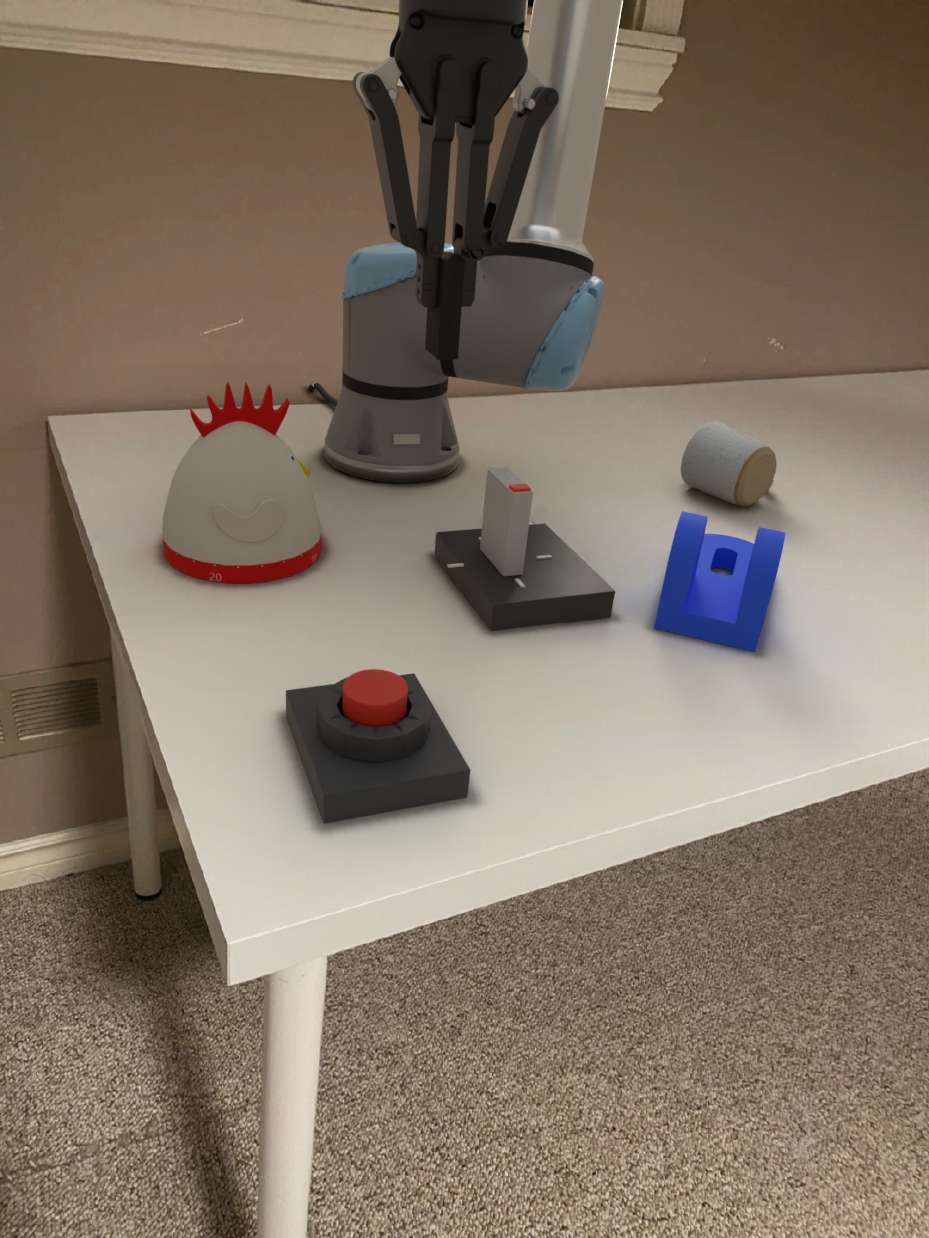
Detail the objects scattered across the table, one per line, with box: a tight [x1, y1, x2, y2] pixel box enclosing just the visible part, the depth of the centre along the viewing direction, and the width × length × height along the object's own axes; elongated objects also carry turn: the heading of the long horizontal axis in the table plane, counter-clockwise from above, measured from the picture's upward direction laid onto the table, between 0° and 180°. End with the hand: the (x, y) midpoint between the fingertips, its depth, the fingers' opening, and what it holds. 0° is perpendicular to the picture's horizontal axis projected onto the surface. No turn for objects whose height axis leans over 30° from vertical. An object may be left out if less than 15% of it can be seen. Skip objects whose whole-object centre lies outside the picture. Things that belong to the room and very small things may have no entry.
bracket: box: [653, 510, 786, 653], centre depth 83 cm, size 18×8×9 cm, turn 161°
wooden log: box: [680, 420, 777, 507], centre depth 106 cm, size 11×8×8 cm
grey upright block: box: [480, 467, 534, 576], centre depth 80 cm, size 6×2×8 cm, turn 21°
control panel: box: [433, 523, 616, 632], centre depth 83 cm, size 14×12×3 cm
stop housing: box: [285, 672, 471, 824], centre depth 60 cm, size 11×9×4 cm
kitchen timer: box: [161, 381, 323, 584], centre depth 82 cm, size 14×14×15 cm
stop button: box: [342, 668, 408, 727], centre depth 59 cm, size 4×4×2 cm
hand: (441, 353), depth 66 cm, fingers closed
